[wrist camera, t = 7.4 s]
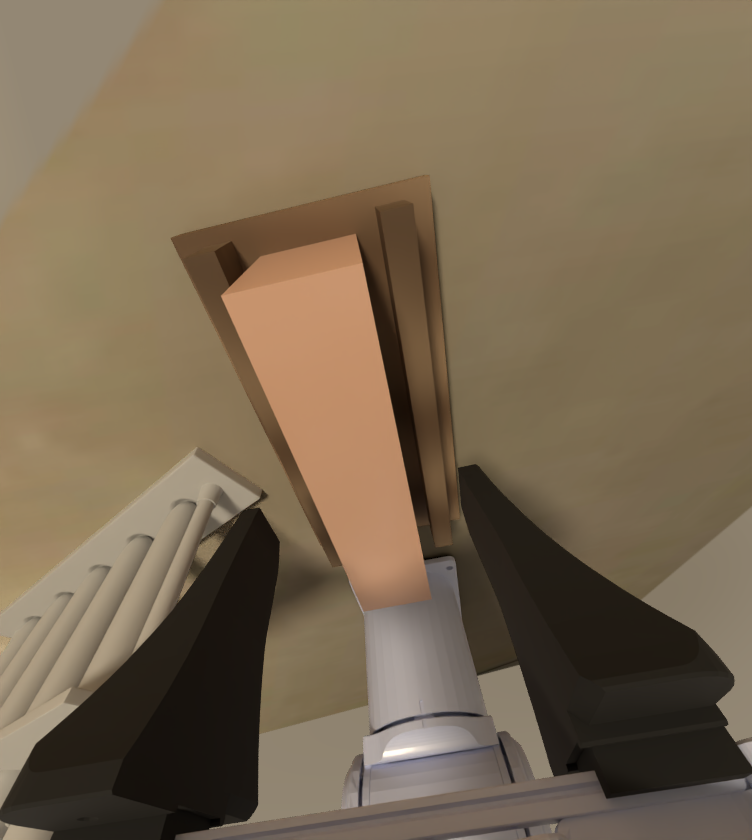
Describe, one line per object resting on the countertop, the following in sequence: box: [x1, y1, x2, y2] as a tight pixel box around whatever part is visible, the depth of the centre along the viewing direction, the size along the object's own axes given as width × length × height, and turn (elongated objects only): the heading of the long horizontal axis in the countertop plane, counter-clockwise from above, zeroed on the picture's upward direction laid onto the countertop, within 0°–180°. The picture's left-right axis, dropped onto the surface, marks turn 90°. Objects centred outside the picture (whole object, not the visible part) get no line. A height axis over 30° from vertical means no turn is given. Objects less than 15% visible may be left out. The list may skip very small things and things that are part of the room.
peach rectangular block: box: [221, 234, 432, 612], centre depth 15 cm, size 16×4×5 cm, turn 11°
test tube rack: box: [0, 447, 262, 840], centre depth 18 cm, size 25×4×13 cm, turn 129°
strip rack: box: [171, 175, 460, 567], centre depth 16 cm, size 18×9×3 cm, turn 11°
